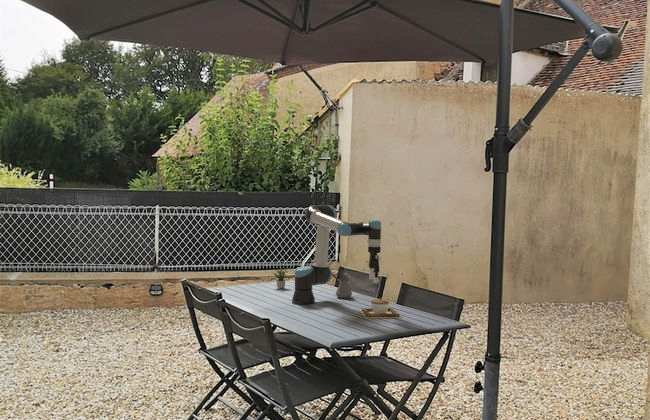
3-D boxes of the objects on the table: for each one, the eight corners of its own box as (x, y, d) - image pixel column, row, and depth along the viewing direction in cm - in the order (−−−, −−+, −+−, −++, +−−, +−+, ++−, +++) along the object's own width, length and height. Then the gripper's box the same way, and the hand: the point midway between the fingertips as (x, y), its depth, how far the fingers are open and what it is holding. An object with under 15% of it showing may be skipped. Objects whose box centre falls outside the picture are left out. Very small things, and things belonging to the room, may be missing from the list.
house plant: (284, 286, 448) (284, 265, 448) (294, 288, 438) (294, 266, 437) (268, 288, 439) (268, 266, 439) (279, 290, 429) (279, 268, 428)
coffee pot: (355, 298, 399) (355, 276, 399) (341, 299, 393) (341, 277, 393) (337, 293, 417) (338, 272, 417) (324, 295, 411) (324, 274, 410)
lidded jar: (384, 311, 355) (384, 296, 354) (392, 314, 344) (392, 299, 344) (368, 312, 351) (368, 297, 350) (375, 316, 341) (375, 300, 340)
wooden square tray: (359, 310, 357) (359, 307, 357) (393, 310, 360) (393, 307, 360) (365, 318, 335) (365, 315, 335) (402, 317, 338) (402, 314, 338)
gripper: (364, 243, 361) (363, 277, 362) (372, 248, 336) (371, 284, 337) (376, 243, 362) (375, 277, 363) (385, 248, 337) (384, 284, 338)
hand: (373, 281), depth 350 cm, fingers open, 13 cm apart
